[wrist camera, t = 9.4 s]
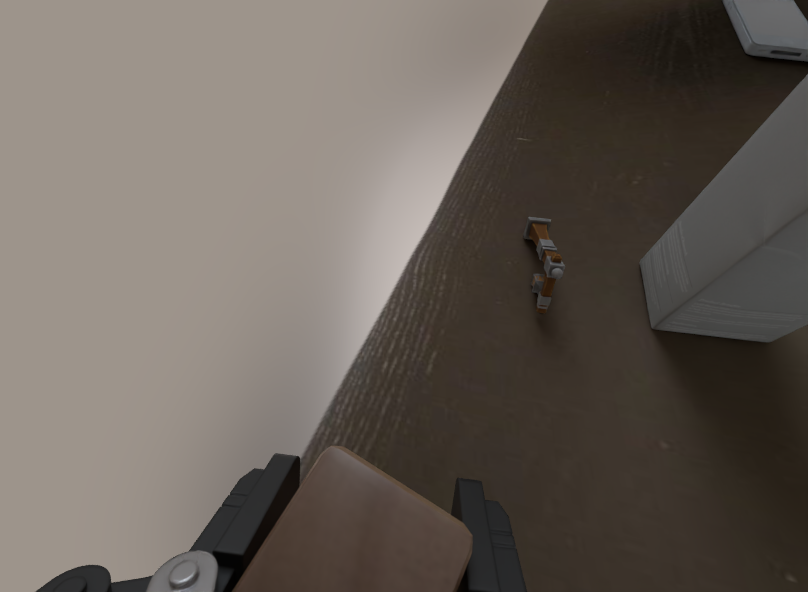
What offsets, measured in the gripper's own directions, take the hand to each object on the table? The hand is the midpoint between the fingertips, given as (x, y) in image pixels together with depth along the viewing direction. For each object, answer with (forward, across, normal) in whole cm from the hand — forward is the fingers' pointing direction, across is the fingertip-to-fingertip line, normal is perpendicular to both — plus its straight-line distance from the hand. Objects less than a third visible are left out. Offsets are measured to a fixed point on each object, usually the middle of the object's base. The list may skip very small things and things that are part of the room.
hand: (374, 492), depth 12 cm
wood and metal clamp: (+21, -10, -5) cm, 23 cm away
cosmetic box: (+19, -21, -3) cm, 29 cm away
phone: (+51, -42, -36) cm, 75 cm away
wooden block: (+2, 0, +4) cm, 5 cm away
